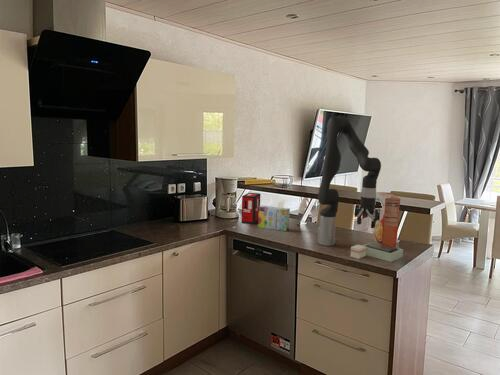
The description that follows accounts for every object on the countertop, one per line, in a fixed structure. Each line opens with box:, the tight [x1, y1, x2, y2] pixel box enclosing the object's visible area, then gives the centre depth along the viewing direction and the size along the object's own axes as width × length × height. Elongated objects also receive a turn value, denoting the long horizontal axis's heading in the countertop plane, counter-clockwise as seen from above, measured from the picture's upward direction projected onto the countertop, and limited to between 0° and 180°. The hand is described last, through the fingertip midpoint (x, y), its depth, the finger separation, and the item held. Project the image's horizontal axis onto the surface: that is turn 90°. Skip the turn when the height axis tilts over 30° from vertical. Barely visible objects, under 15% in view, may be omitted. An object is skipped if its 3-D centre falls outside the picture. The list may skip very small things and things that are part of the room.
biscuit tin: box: [368, 242, 398, 253], centre depth 205 cm, size 12×9×5 cm
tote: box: [361, 241, 404, 263], centre depth 206 cm, size 18×13×5 cm
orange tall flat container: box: [372, 191, 401, 247], centre depth 228 cm, size 23×8×30 cm, turn 174°
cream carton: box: [350, 244, 367, 259], centre depth 203 cm, size 5×7×6 cm
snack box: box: [257, 204, 291, 232], centre depth 259 cm, size 21×6×15 cm, turn 63°
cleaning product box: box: [241, 192, 261, 225], centre depth 279 cm, size 16×9×20 cm, turn 163°
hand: (365, 226), depth 200 cm, fingers open, 8 cm apart
